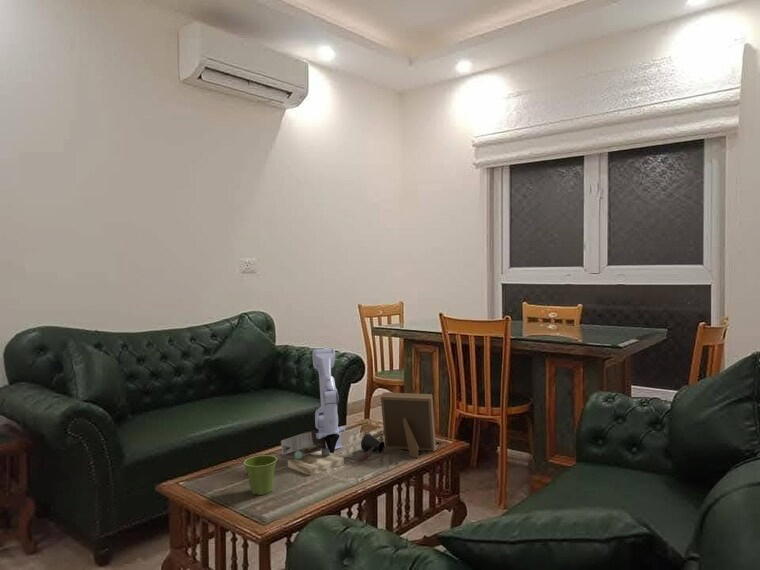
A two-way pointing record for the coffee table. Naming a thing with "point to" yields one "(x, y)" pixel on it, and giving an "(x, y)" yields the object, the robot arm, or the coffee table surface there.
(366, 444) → the coffee pot
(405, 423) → the photo frame
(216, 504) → the coffee table surface
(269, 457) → the plant pot
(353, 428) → the coffee table surface
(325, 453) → the ball
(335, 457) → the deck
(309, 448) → the coffee box
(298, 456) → the teal ball
